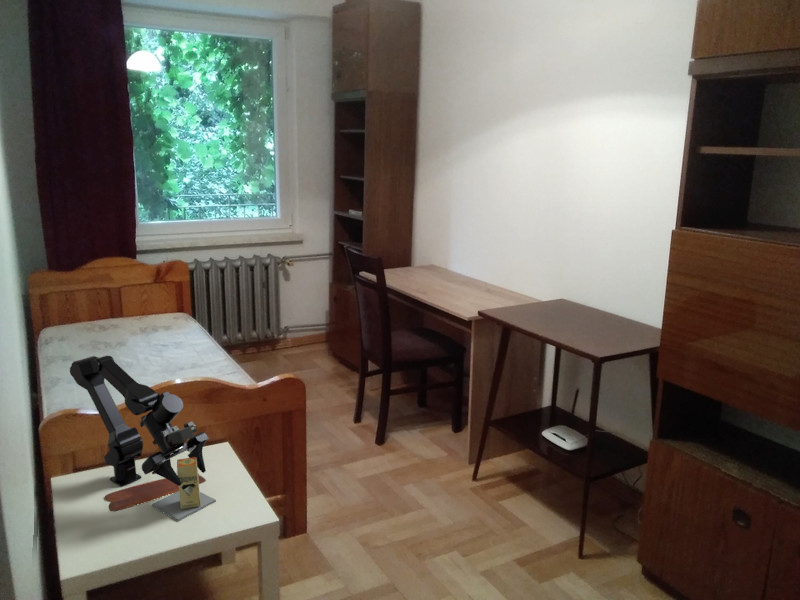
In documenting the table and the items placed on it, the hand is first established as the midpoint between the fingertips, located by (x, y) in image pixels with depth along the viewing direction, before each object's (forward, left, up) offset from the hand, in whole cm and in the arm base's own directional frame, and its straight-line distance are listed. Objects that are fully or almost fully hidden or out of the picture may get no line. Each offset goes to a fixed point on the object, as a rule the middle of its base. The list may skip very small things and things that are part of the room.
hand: (192, 478), depth 169 cm
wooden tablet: (-16, -1, -10) cm, 19 cm away
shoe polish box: (-2, 0, -8) cm, 8 cm away
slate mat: (-4, -1, -9) cm, 9 cm away
